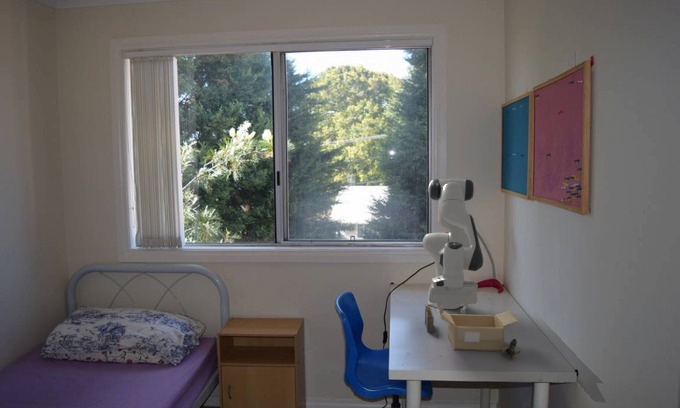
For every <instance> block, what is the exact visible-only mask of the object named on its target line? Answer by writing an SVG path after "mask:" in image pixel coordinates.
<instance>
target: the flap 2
mask: <svg viewBox="0 0 680 408" xmlns="http://www.w3.org/2000/svg"><path fill="white" fill-rule="evenodd" d="M494 316H495V317H496V318H497V319H498V320H499V322H500V323H501V324H502V325H503V327H504V328H505V327H508V326H510V325H513V324H517V323H518V322H519V321H518V320H517V318H516V317H515V316H514V315H513V314H512V312H511V311H510V310H506V311H503V312H500V313H497V314H495V315H494Z"/></svg>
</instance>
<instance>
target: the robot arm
mask: <svg viewBox="0 0 680 408" xmlns="http://www.w3.org/2000/svg"><path fill="white" fill-rule="evenodd" d="M475 189H476V188H475V184H474V181H472V180H470V179H468V178H465V179H462V178H442V179H441V178H440V179H439V178H435V179H432V180H431V181H430V182H429V184H428V188H427V191H428V196H429V197H430V199H431V200H433V201H438V206H437V207H438V209H437V222H438V224H439V225H440V226H441V227H442V228H444V229H446V230H448V231H449V232H431V233H426V234H425V235H424V237H423V238H422V247H423V249H424V250H425V252H427V253H428V254H429V256H431V258H432V259H433V262H434V265H435V277H432V278H431V284H430V285H429V287H428V288H429V289H428V292H427V293H428V294H427V300H428V301H427V306H429V307H434V308H438V309H439V313H443V311H444V310H455V309H459V308H460V307H462V308H460V313H461V314H465V313H466V310H467V308H468V306H469V305H475V304H476V303H478V293H477V292H478V289H479V288H478V287H479V285H478V283H477V282H475V281H467V280H465V272H464V271H465V270H466V271H471V272H477V271H478V270H480V269H481V268H482V267H483V265H484V254H483V252H482V249H481V248H482V247H481V245H480V241H479V236H478V233H477V232H478V231H477V228H476V224H475V220H474V217H473V215H472V214H470V213H469V212H468V211H467V209H466V203H465V202H467V201H470V200H472V199H473V197H474V195H475V192H476V190H475ZM465 315H466V314H465Z"/></svg>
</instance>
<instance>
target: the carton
mask: <svg viewBox="0 0 680 408" xmlns="http://www.w3.org/2000/svg"><path fill="white" fill-rule="evenodd" d="M449 314H450V313H449ZM450 316H451V318H452V320H453V322H454V325H452V324H450V323H448V322H447V325H448V326H447V337H448V340H449V342H450V344H451V346H452V347H451V348H452V349H453V350H454V351H471V352H472V351H473V352H500V351H502V350H503V349H504V348H505V347H504V344H505V327H504V326H503V325H502V324H501V322H500V321H499V320H498V318H497V317H496V316H495V315H491V314H460V313H459V314H456V313H454V314H453V313H451V314H450Z"/></svg>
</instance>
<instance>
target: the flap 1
mask: <svg viewBox="0 0 680 408" xmlns="http://www.w3.org/2000/svg"><path fill="white" fill-rule="evenodd" d="M435 308H436V311H437V313H438V316H439V318H440V319H441V320H442V321H444V322H446V323H447V324H448V323H450V324H452V325H454V322H453V320H452V318H451V316H450V313H448V312H447V311H445V310H443V313H439V308H437V307H435Z"/></svg>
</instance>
